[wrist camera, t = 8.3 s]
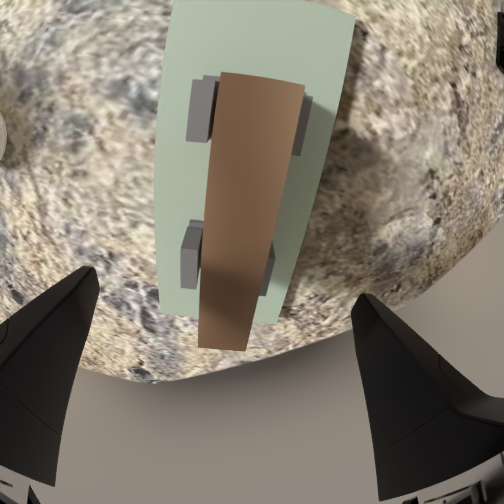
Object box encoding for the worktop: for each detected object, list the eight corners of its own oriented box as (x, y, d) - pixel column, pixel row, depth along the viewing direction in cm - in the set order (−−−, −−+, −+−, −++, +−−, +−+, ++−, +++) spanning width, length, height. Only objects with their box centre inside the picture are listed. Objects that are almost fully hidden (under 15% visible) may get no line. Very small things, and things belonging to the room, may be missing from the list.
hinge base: (348, 19, 11) (378, 6, 7) (274, 314, 24) (279, 351, 21) (181, -7, 10) (164, -30, 6) (163, 303, 23) (154, 339, 20)
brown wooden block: (275, 85, 12) (305, 85, 7) (243, 267, 19) (245, 351, 13) (230, 78, 12) (221, 71, 6) (208, 263, 19) (198, 347, 13)
